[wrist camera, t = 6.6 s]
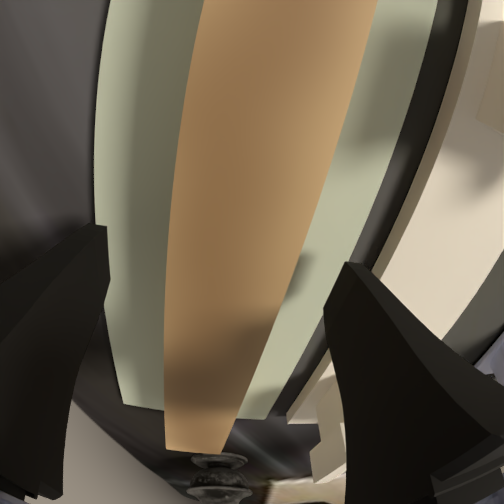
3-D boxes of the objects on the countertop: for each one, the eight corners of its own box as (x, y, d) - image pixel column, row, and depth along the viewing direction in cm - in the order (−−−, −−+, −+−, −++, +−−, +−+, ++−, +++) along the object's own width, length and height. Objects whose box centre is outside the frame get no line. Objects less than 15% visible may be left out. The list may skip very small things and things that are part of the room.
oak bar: (360, -95, 4) (403, -131, 2) (220, 410, 18) (220, 454, 15) (255, -121, 4) (263, -172, 1) (170, 404, 17) (166, 449, 15)
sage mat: (441, -68, 5) (449, -71, 4) (264, 412, 19) (264, 419, 19) (163, -137, 3) (160, -144, 3) (125, 397, 18) (123, 403, 17)
